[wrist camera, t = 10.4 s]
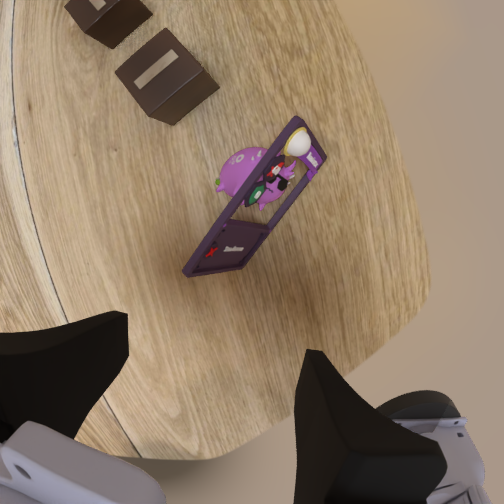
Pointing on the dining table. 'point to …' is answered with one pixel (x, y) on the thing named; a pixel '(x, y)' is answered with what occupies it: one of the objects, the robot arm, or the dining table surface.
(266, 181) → the game card
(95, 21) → the brown box
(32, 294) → the dining table surface
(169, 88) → the brown box
